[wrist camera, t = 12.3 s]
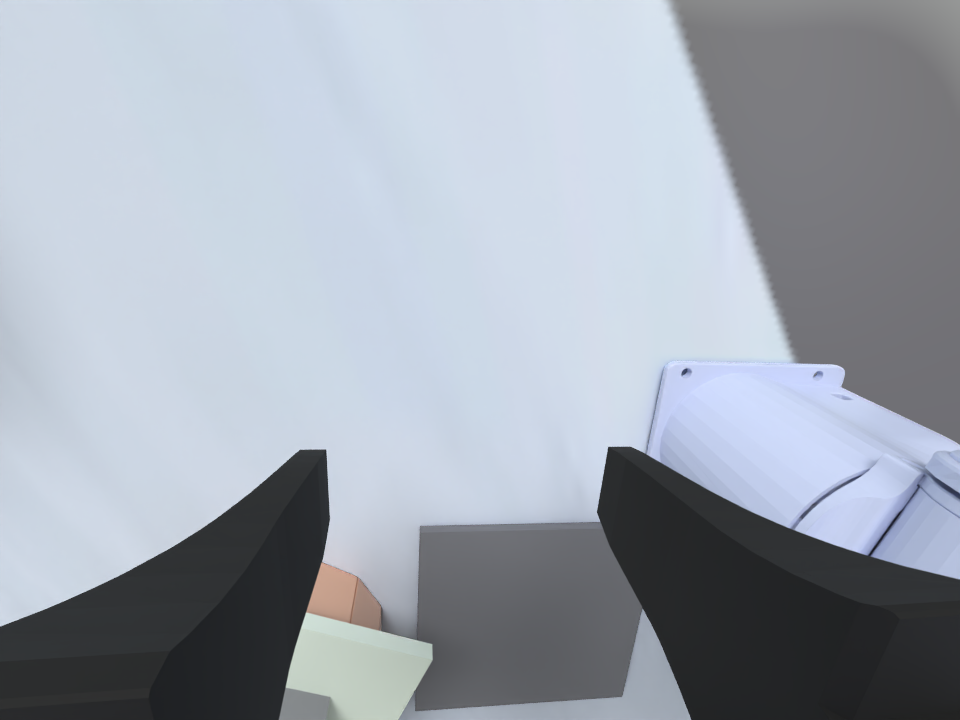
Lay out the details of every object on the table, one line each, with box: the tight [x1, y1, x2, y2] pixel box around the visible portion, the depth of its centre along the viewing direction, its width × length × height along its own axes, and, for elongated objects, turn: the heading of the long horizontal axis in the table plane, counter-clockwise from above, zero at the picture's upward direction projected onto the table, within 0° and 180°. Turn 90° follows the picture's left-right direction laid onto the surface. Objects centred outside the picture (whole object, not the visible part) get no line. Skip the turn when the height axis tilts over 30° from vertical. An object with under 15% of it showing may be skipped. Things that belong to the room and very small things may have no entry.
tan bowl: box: [306, 563, 382, 631], centre depth 24 cm, size 9×9×4 cm
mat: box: [415, 522, 642, 711], centre depth 28 cm, size 13×13×1 cm
